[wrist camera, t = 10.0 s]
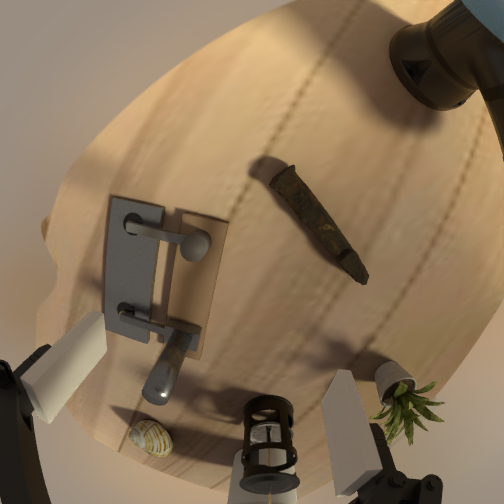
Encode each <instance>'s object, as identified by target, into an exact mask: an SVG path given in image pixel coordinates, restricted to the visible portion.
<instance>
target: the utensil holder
mask: <svg viewBox="0 0 504 504" xmlns="http://www.w3.org/2000/svg"><path fill="white" fill-rule="evenodd" d="M242 451H243V449H241V450H239V451H238V452H237V453H236V454H235V457H234V462H233V469H232V475H231V482H230V489H229V496H228V503H227V504H268V495H262V494H254V493H250V492H247V491H245V490H243V489H242V488H241V487H240V486H239V482H240V480H241V479H242V478H243V472H244V466H243V465H242V463H241V454H242ZM243 458H244V457H243ZM285 463H286V450H282V449H271V448H270V465H271V466H278V465H282V464H285ZM259 464H262V465H267V466H268V449H260V450H259ZM279 472H283V473H289V474H294V473H295V471H294V466H292V467H291V468H289V469H286V470H283V471H279ZM271 504H297V495H296V488H295V489H293V490H291V491H289V492H285V493H281V494H273V495H271Z"/></svg>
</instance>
